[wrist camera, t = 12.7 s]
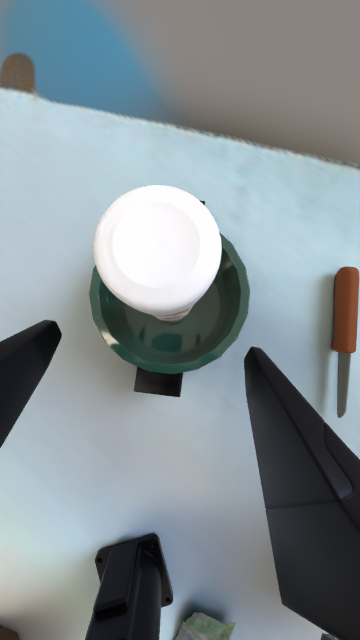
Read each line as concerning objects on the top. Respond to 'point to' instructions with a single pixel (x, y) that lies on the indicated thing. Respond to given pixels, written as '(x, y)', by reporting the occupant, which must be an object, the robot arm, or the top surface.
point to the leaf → (204, 628)
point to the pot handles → (159, 380)
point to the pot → (183, 336)
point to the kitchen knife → (345, 328)
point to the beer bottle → (7, 634)
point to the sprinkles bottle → (158, 250)
